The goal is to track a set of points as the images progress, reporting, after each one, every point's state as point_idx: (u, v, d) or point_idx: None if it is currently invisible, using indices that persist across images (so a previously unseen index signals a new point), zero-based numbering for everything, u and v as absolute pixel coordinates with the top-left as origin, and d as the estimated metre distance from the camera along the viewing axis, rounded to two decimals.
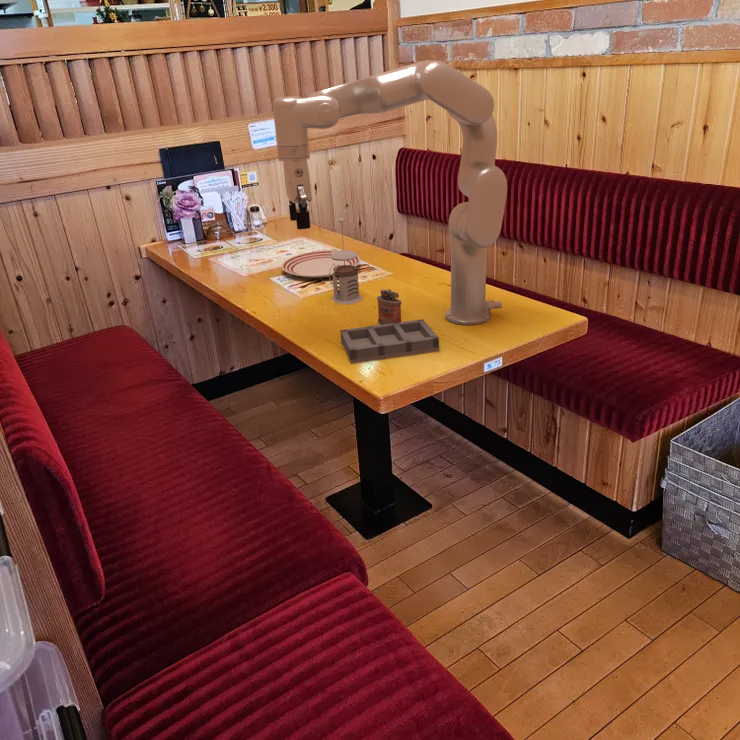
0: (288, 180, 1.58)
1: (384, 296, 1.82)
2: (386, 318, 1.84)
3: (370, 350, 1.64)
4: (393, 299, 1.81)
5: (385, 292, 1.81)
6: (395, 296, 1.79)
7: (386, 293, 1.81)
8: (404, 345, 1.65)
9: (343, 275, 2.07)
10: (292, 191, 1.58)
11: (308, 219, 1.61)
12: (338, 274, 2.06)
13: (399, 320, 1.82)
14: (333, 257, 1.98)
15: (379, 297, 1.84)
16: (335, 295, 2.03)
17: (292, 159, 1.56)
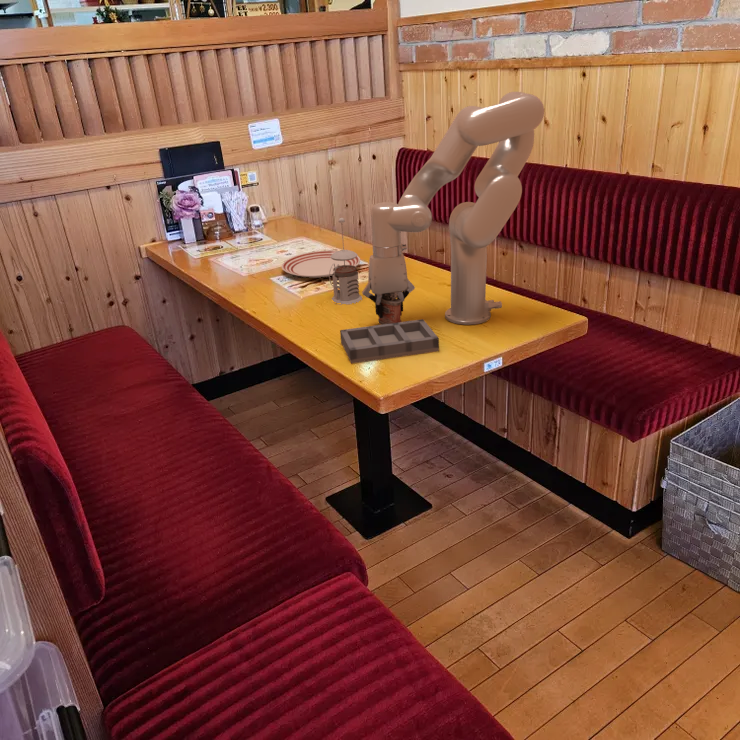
0: (400, 273, 1.77)
1: (384, 296, 1.82)
2: (385, 317, 1.84)
3: (370, 350, 1.64)
4: (393, 299, 1.81)
5: None
6: (395, 296, 1.79)
7: (386, 293, 1.81)
8: (404, 345, 1.65)
9: (343, 275, 2.07)
10: (407, 280, 1.79)
11: None
12: (338, 274, 2.06)
13: (399, 320, 1.82)
14: (333, 257, 1.98)
15: None
16: (335, 295, 2.03)
17: (401, 254, 1.77)
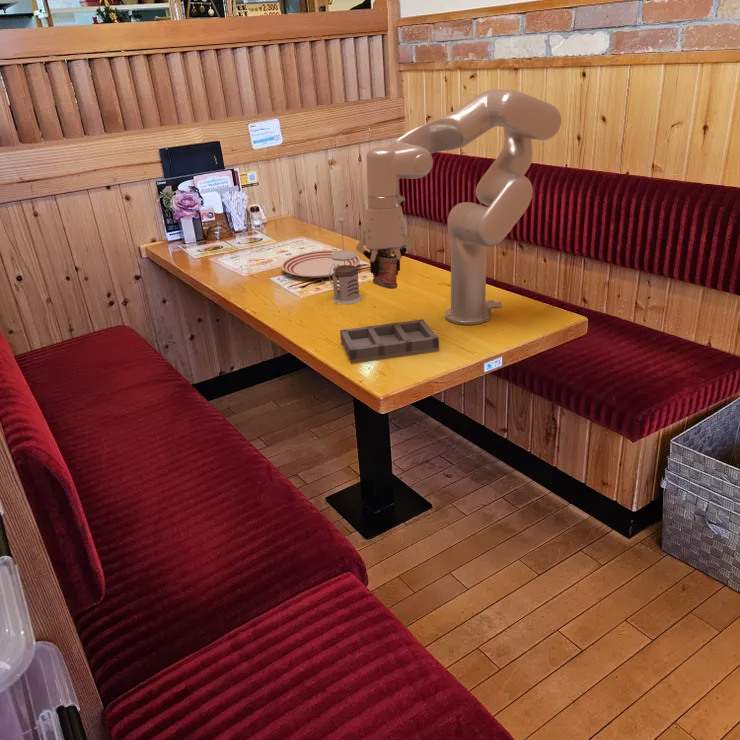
0: (397, 227, 1.63)
1: (380, 253, 1.68)
2: (380, 276, 1.69)
3: (370, 350, 1.64)
4: (389, 256, 1.66)
5: None
6: (390, 252, 1.65)
7: (382, 249, 1.67)
8: (404, 345, 1.65)
9: (343, 275, 2.07)
10: (404, 235, 1.64)
11: None
12: (338, 274, 2.06)
13: (394, 279, 1.67)
14: (333, 257, 1.98)
15: None
16: (335, 295, 2.03)
17: (399, 205, 1.62)
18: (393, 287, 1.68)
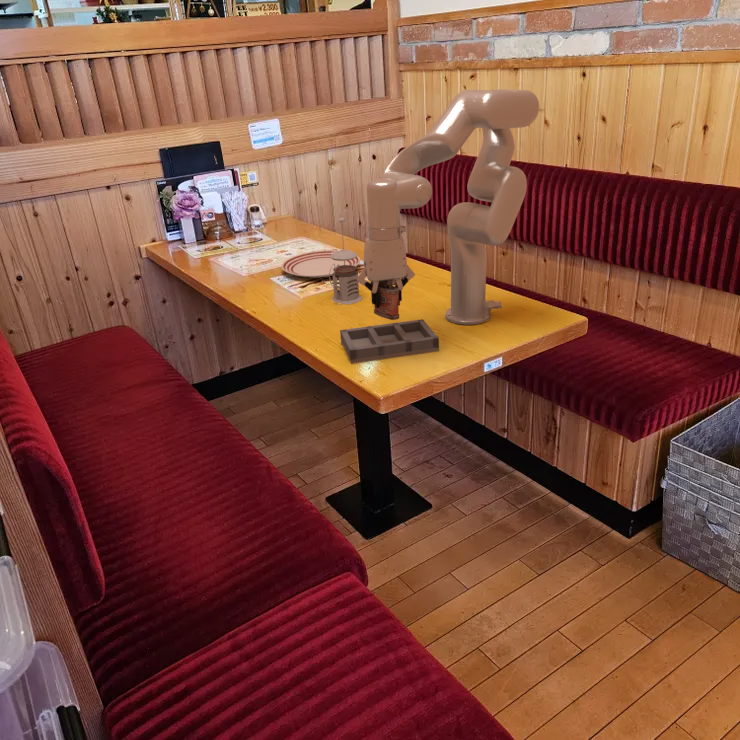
0: (399, 257, 1.60)
1: (381, 283, 1.65)
2: (382, 307, 1.66)
3: (370, 350, 1.64)
4: (390, 287, 1.63)
5: None
6: (392, 283, 1.62)
7: None
8: (404, 345, 1.65)
9: (343, 275, 2.07)
10: (406, 265, 1.62)
11: None
12: (338, 274, 2.06)
13: (396, 310, 1.65)
14: (333, 257, 1.98)
15: None
16: (335, 295, 2.03)
17: (400, 236, 1.59)
18: (395, 318, 1.65)
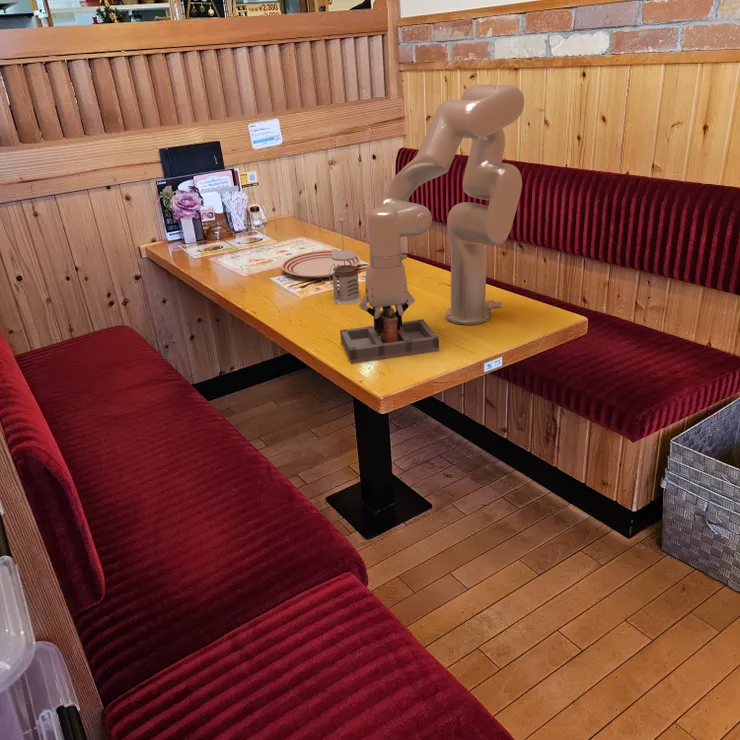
0: (400, 284, 1.63)
1: (383, 311, 1.69)
2: (383, 334, 1.70)
3: (370, 350, 1.64)
4: (389, 315, 1.66)
5: (384, 307, 1.68)
6: (390, 312, 1.65)
7: (384, 308, 1.68)
8: (404, 345, 1.65)
9: (343, 275, 2.07)
10: (407, 291, 1.65)
11: None
12: (338, 274, 2.06)
13: (394, 339, 1.67)
14: (333, 257, 1.98)
15: (381, 312, 1.71)
16: (335, 295, 2.03)
17: (401, 263, 1.62)
18: None
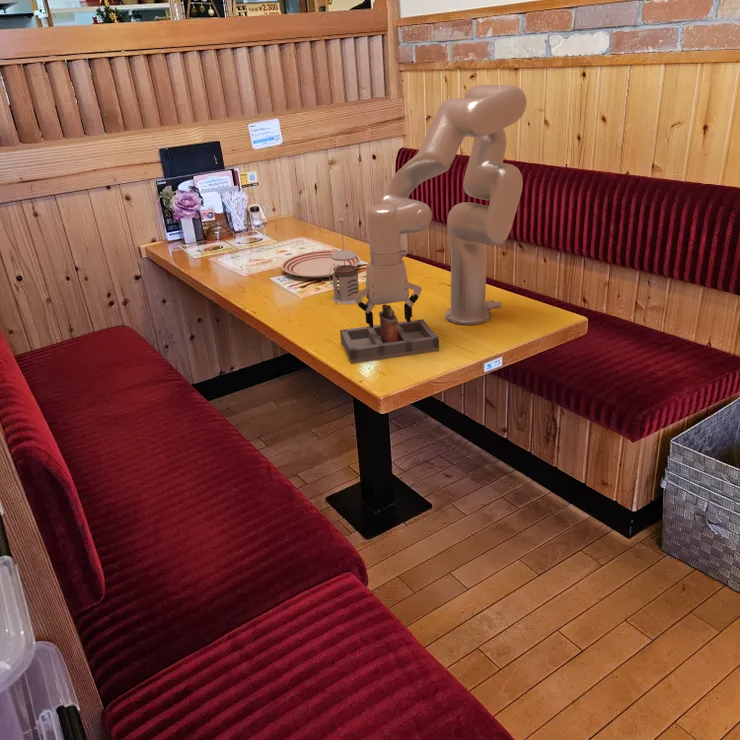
0: (401, 281, 1.63)
1: (383, 312, 1.68)
2: (383, 335, 1.70)
3: (370, 350, 1.64)
4: (390, 317, 1.66)
5: (384, 308, 1.68)
6: (390, 314, 1.65)
7: (384, 309, 1.67)
8: (404, 345, 1.65)
9: (343, 275, 2.07)
10: (408, 288, 1.65)
11: None
12: (338, 274, 2.06)
13: (394, 340, 1.67)
14: (333, 257, 1.98)
15: (381, 312, 1.71)
16: (335, 295, 2.03)
17: (401, 260, 1.62)
18: None
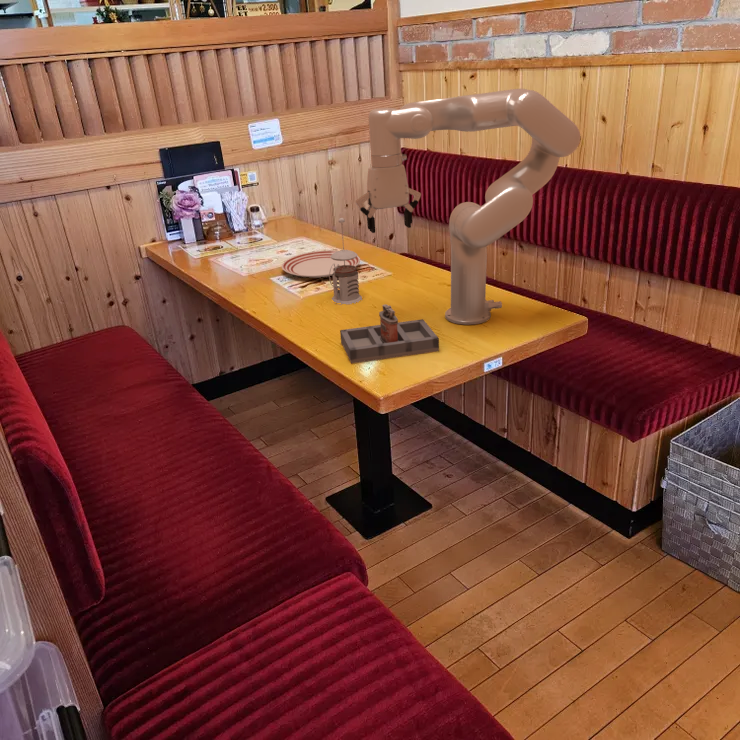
0: (401, 185, 1.68)
1: (384, 312, 1.68)
2: (383, 335, 1.70)
3: (370, 350, 1.64)
4: (390, 317, 1.66)
5: (384, 308, 1.68)
6: (390, 314, 1.65)
7: (385, 309, 1.67)
8: (404, 345, 1.65)
9: (343, 275, 2.07)
10: (408, 193, 1.70)
11: None
12: (338, 274, 2.06)
13: (394, 340, 1.67)
14: (333, 257, 1.98)
15: (381, 312, 1.71)
16: (335, 295, 2.03)
17: (401, 164, 1.67)
18: None
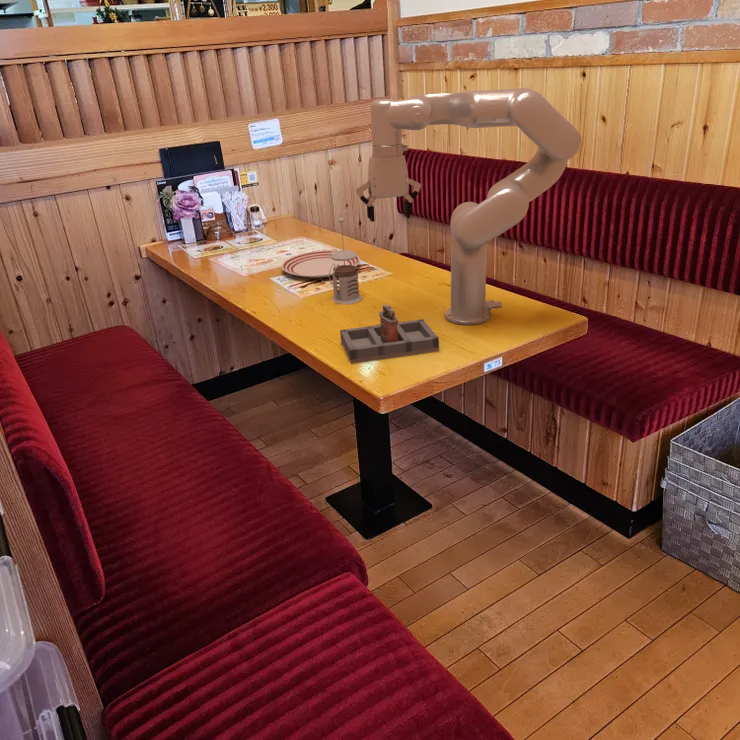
0: (401, 175, 1.71)
1: (384, 312, 1.68)
2: (383, 335, 1.70)
3: (370, 350, 1.64)
4: (390, 317, 1.66)
5: (384, 308, 1.68)
6: (390, 314, 1.65)
7: (385, 309, 1.67)
8: (404, 345, 1.65)
9: (343, 275, 2.07)
10: (408, 183, 1.72)
11: None
12: (338, 274, 2.06)
13: (394, 340, 1.67)
14: (333, 257, 1.98)
15: (381, 312, 1.71)
16: (335, 295, 2.03)
17: None
18: None
